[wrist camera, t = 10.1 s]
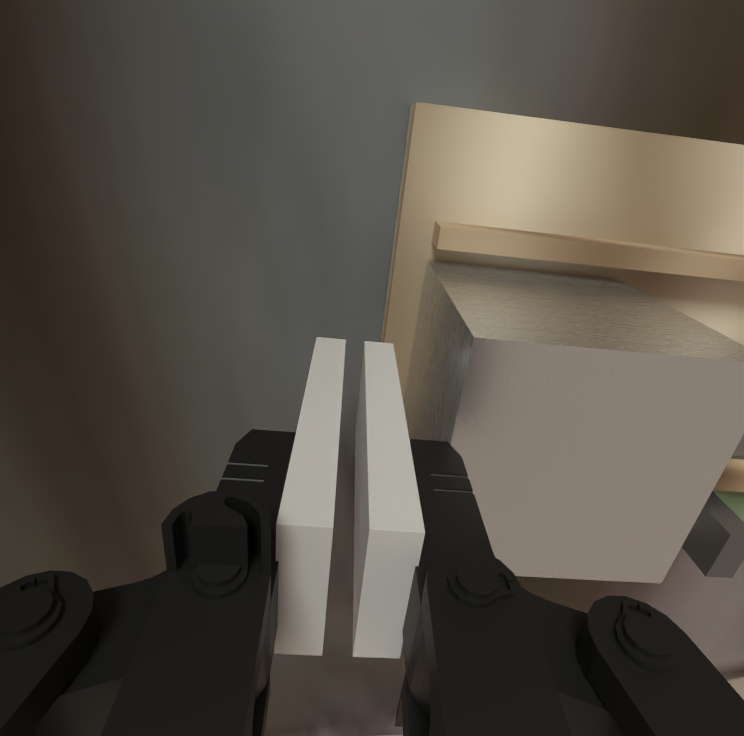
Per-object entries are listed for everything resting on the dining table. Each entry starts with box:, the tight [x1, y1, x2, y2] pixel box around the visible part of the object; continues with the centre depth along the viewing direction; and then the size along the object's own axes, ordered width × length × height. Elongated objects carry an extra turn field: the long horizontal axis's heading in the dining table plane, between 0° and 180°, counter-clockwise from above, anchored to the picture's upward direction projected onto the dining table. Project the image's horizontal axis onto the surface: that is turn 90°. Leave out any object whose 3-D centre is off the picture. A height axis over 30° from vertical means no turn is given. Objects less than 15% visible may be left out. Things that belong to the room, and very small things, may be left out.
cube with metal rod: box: [404, 260, 744, 583], centre depth 14 cm, size 11×11×6 cm
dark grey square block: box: [682, 491, 744, 578], centre depth 17 cm, size 1×2×2 cm, turn 174°
